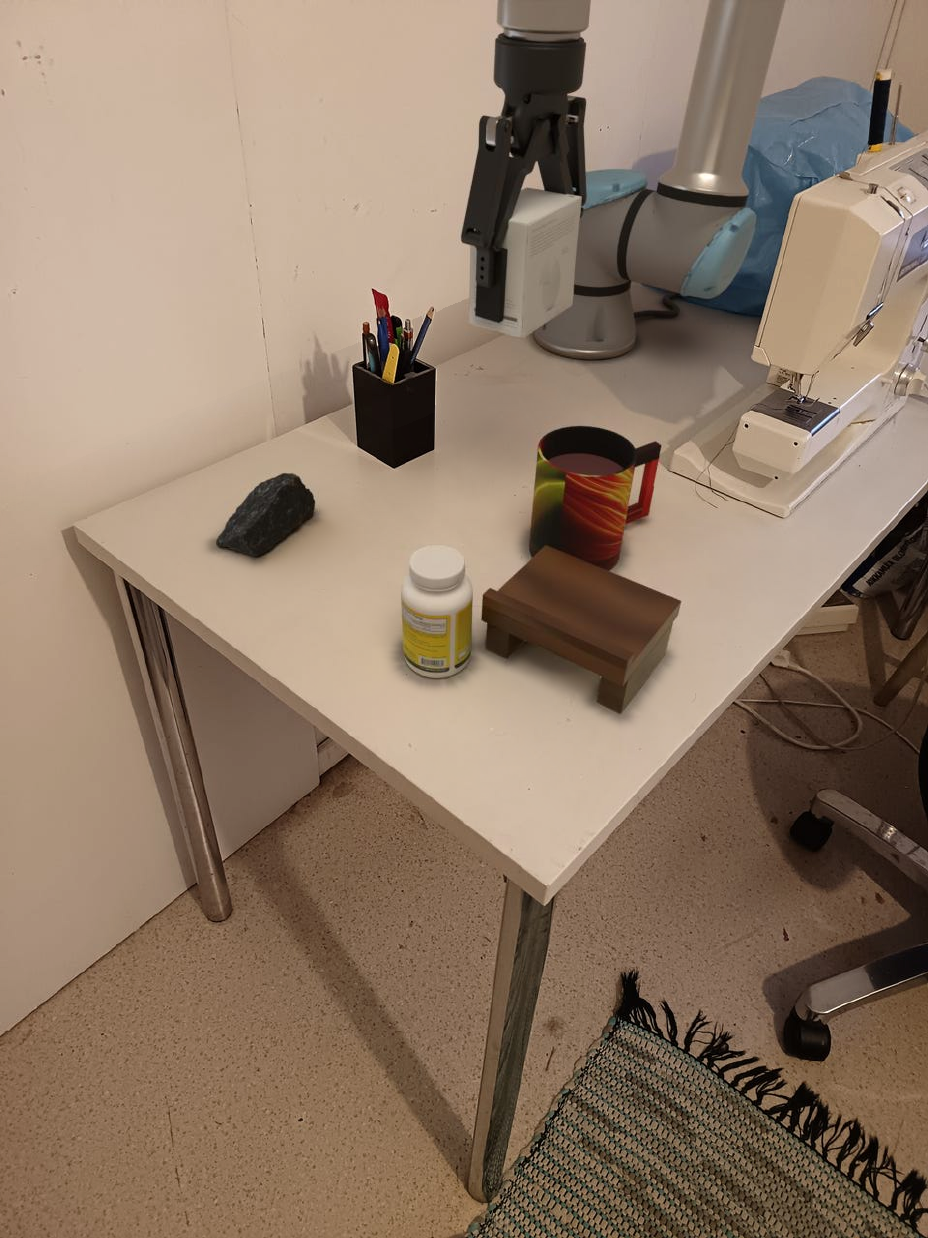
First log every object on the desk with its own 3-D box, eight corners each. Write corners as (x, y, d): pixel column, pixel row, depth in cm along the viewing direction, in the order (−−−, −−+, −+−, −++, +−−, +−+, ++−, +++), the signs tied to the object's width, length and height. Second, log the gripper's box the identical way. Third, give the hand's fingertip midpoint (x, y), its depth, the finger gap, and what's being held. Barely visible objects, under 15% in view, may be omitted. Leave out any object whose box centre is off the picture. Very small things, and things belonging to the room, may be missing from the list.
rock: (206, 546, 92) (196, 499, 88) (264, 498, 99) (257, 453, 95) (262, 565, 89) (254, 518, 86) (317, 515, 96) (312, 469, 93)
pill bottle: (452, 626, 83) (454, 531, 76) (482, 667, 79) (487, 571, 72) (392, 645, 81) (388, 549, 74) (420, 689, 77) (419, 592, 70)
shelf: (540, 593, 87) (546, 534, 83) (669, 650, 81) (684, 590, 77) (479, 654, 80) (482, 594, 76) (615, 721, 75) (628, 660, 70)
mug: (648, 522, 97) (667, 425, 89) (597, 589, 88) (614, 487, 80) (569, 496, 101) (581, 400, 93) (513, 558, 92) (520, 458, 84)
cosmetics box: (518, 292, 92) (526, 183, 85) (573, 306, 89) (585, 195, 82) (464, 323, 85) (468, 208, 78) (521, 340, 82) (531, 222, 75)
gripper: (572, 15, 80) (549, 261, 95) (418, 41, 66) (419, 327, 80) (646, 24, 77) (610, 277, 92) (501, 54, 63) (486, 349, 77)
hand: (521, 300), depth 86 cm, fingers closed on cosmetics box, 11 cm apart
